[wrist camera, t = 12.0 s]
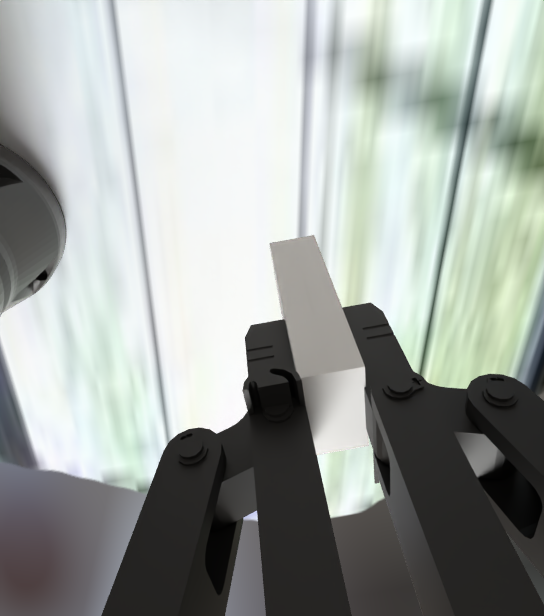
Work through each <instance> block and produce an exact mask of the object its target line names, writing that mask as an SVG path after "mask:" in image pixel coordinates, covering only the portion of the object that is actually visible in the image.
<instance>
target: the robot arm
mask: <svg viewBox="0 0 544 616" xmlns="http://www.w3.org/2000/svg"><path fill="white" fill-rule="evenodd" d="M65 243H66V228H65V222H64V217H63V214H62V211H61V208H60V206H59V203H58V201H57V199H56V197H55V195H54V194H53V192H52V190H51V189H50V187H49V186H48V185H47V183H46V182H45V181H44V179H43V178H42V177H41V176H40V175H39V174H38V173H37V172H36V171H35V170H34V169H33V168H32V167H31V166H30V165H29V164H28V163H27V162H26V161H24V160H23V159H22V158H21V157H19V156H18V155H17V154H15V153H14V152H12V151H11V150H9V149H7V148H6V147H4V146H2V145H0V316H1V314H2V313H3V312H4V311H6V310H8V309H10V308H11V307H13V306H15V305H16V304H18V303H20V302H22V301H23V300H25V299H27V298H29V297H30V296H32V295H33V294H35V293H36V292H37V291H39V290H40V289H41V288H42V287H43V286H44V285H45V284H46V283H47V282H48V280H49V279H50V278H51V276H52V275H53V273H54V271H55V269H56V268H57V266H58V264H59V262H60V260H61V258H62V255H63V252H64V249H65ZM270 248H271V254H272V260H273V266H274V272H275V278H276V284H277V290H278V296H279V302H280V308H281V313H282V318H283V320H278V321H272V322H267V323H261V324H255V325H251V326H250V328H249V330H248V333H247V335H246V337H245V343H246V355H247V366H248V378H247V379H246V380H245V382H244V386H243V394H244V398H245V402H246V406H247V409H248V412H247V413H246V414H245V416H244V417H243V418H242V419H241V420H240V421H239V422H238V423H237V424H235V425H233V426H232V427H230V428H228V429H226V430H224V431H222V432H220V433H217V434H216V433H214V432H213V431H211V430H210V429H204V428H194V429H188V430H186V431H184V432H182V433H180V434H178V435H177V436H175V437H174V438H173V439H172V440H171V441H170V442H169V443H168V445H167V446H166V448H165V450H164V452H163V454H162V457H161V460H160V462H159V465H158V468H157V470H156V473H155V475H154V478H153V481H152V483H151V486H150V489H149V491H148V494H147V497H146V500H145V502H144V505H143V507H142V510H141V512H140V515H139V518H138V520H137V523H136V526H135V529H134V531H133V534H132V536H131V539H130V542H129V544H128V547H127V550H126V552H125V555H124V557H123V560H122V563H121V565H120V568H119V571H118V573H117V576H116V579H115V581H114V584H113V586H112V589H111V592H110V595H109V597H108V600H107V603H106V605H105V608H104V610H103V613H102V616H225V612H226V607H227V602H228V597H229V591H230V586H231V581H232V576H233V571H234V566H235V560H236V555H237V550H238V544H239V540H240V534H241V529H242V524H243V517H245V516H247V515H249V514H251V513H253V512H255V511H256V510H257V514H258V525H259V537H260V549H261V560H262V573H263V584H264V596H265V608H266V616H352V615H351V611H350V606H349V601H348V597H347V593H346V588H345V583H344V579H343V574H342V570H341V565H340V560H339V556H338V551H337V547H336V542H335V537H334V533H333V528H332V524H331V519H330V515H329V510H328V505H327V501H326V496H325V492H324V487H323V483H322V478H321V473H320V469H319V464H318V460H317V455H320V454H326V453H331V452H337V451H343V450H348V449H354V448H359V447H365V446H369V442H368V436H369V439H370V441H371V444H372V447H373V457H374V478H375V483H379V481H380V484H381V487H382V490H383V493H384V496H385V499H386V502H387V505H388V508H389V512H390V515H391V517H392V521H393V524H394V527H395V530H396V533H397V536H398V539H399V542H400V545H401V548H402V552H403V555H404V558H405V561H406V564H407V567H408V570H409V573H410V576H411V579H412V582H413V585H414V588H415V591H416V594H417V598H418V601H419V603H420V607H421V610H422V613H423V616H544V604H543V602H542V600H541V598H540V597H539V595H538V593H537V591H536V589H535V587H534V585H533V583H532V581H531V579H530V577H529V576H528V574H527V572H526V570H525V568H524V566H523V564H522V562H521V560H520V558H519V556H518V554H517V553H516V551H515V549H514V547H513V545H512V543H511V542H510V539H509V537H508V535H509V536H510V537H511V538H512V540H513V541H514V542H515V543H516V545H517V546H518V547H519V548H520V549H521V551H522V552H523V553H524V554H525V556H526V557H527V558H528V559H529V560H530V562H531V563H532V564H533V565H534V566H535V568H536V569H537V570H538V572H539V573H540V574H541V575H542V576H543V578H544V401H543V400H542V399H541V398H540V397H539V396H537V395H536V394H535V393H534V392H533V391H531V390H530V389H529V388H528V387H527V386H526V385H524V384H523V383H521V382H519V381H518V380H516V379H515V378H511V377H508V376H505V375H499V374H487V375H483V376H479V377H477V378H476V379H474V380H472V381H471V383H470V384H469V386H468V388H467V389H457V388H445V387H439V386H435V385H432V384H429V383H427V382H426V380H425V379H424V378H423V377H422V376H421V375H419V374H417V373H415V372H414V371H413V370H412V369H411V367H410V365H409V363H408V361H407V359H406V357H405V355H404V353H403V351H402V349H401V347H400V345H399V343H398V341H397V339H396V337H395V335H394V334H393V331H392V329H391V327H390V326H389V323H388V321H387V319H386V317H385V315H384V313H383V311H381V310H380V309H379V308H377V307H376V306H374V305H373V304H372V303H366V304H360V305H355V306H349V307H344V308H342V306H341V304H340V301H339V298H338V296H337V293H336V291H335V288H334V286H333V283H332V280H331V278H330V275H329V273H328V270H327V268H326V265H325V262H324V260H323V257H322V255H321V252H320V250H319V247H318V244H317V242H316V239H315V237H314V235H312V236H307V237H301V238H296V239H290V240H285V241H279V242H273V243H270ZM506 532H507V533H506ZM507 534H508V535H507Z"/></svg>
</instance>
